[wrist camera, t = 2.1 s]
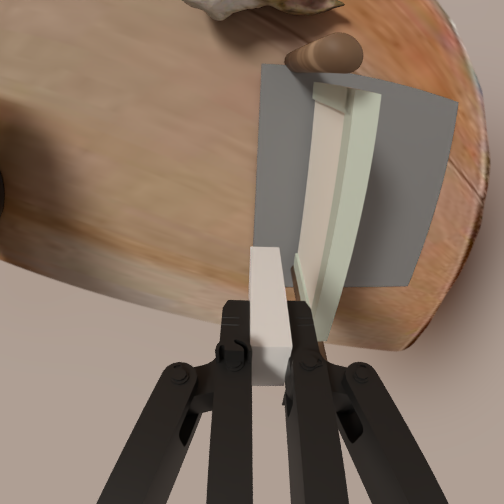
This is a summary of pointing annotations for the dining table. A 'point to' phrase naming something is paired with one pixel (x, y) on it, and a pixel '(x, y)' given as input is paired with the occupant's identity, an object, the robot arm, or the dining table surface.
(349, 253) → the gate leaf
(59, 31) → the dining table surface
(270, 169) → the mat
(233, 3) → the ceramic sculpture
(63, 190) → the dining table surface
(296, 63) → the gate posts
